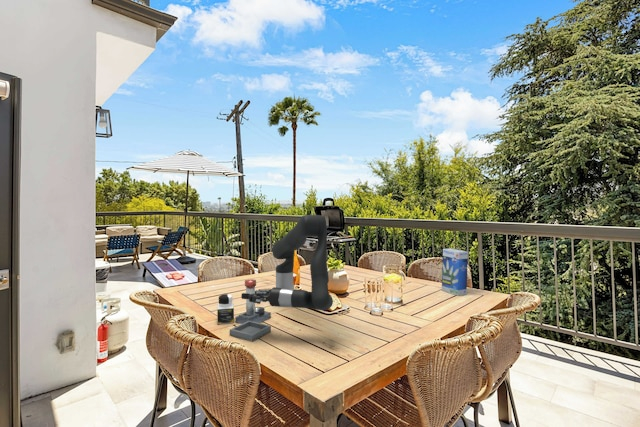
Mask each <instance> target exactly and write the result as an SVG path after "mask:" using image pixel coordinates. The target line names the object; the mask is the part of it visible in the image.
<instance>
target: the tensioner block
mask: <svg viewBox="0 0 640 427" xmlns="http://www.w3.org/2000/svg"><path fill="white" fill-rule="evenodd" d="M265 310H266V309H265V308H264V307H262V306H255V315H251V316H249V315H246V312H243V313H240V314H239V315H237V316H234V322H235V323H236V324H239V325H241V324H243V323H245V322H247V321H253V322H257V323H261V324H262V323H263V322H265V321H267V320H269V319H271V317H272V313H271V312H272V311H271V312H270V311H265Z"/></svg>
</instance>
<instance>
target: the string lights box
mask: <svg viewBox="0 0 640 427" xmlns="http://www.w3.org/2000/svg"><path fill="white" fill-rule="evenodd" d="M468 260H469V251H465V250H461V249H455V248H451V247H450V248H449V247H448V248H442V264H441V266H442V270H441V291H442V292H445V293H449V294H451V295H454V296H457V297H459V296H465V295H467V290H468V289H467V286H468V284H467V282H468Z"/></svg>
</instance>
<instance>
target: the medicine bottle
mask: <svg viewBox="0 0 640 427" xmlns="http://www.w3.org/2000/svg"><path fill="white" fill-rule="evenodd" d="M234 307H235V306H234V303H233V295H232V294H229V293H223V294H220V295H219V296H218V304H217V309H216V310H217V313H216V316H217V325H223V324H224V325H225V324H234V322H235V308H234Z"/></svg>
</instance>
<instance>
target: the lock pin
mask: <svg viewBox="0 0 640 427" xmlns="http://www.w3.org/2000/svg"><path fill="white" fill-rule="evenodd" d="M256 286H257V280H256V279H253V278H251V279H250V278H249V279H245V280H244V287H245V293H248V294H255V291H256ZM245 303H246V304H245V305H246V306H245V309H246V315H249V316H251V315H255V307H256V303H253V302H249V299H245Z"/></svg>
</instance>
